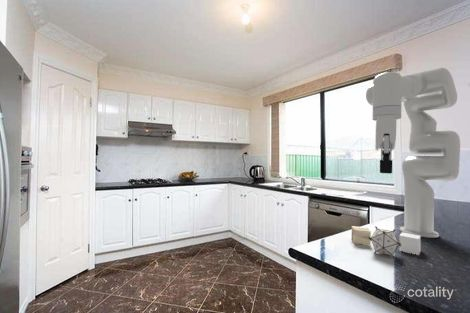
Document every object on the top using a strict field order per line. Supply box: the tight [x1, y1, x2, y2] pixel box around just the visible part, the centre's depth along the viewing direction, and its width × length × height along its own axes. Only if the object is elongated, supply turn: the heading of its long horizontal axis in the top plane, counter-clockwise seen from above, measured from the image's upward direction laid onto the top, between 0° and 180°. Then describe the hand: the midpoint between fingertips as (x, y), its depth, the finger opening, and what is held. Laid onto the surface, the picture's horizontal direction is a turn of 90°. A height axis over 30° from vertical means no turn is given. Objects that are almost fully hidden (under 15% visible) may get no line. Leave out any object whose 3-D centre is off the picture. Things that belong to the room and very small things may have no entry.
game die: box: [368, 226, 401, 259], centre depth 71 cm, size 9×8×10 cm
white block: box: [398, 231, 422, 256], centre depth 75 cm, size 5×5×5 cm
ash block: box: [351, 225, 372, 246], centre depth 82 cm, size 5×5×5 cm
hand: (385, 173), depth 72 cm, fingers closed
